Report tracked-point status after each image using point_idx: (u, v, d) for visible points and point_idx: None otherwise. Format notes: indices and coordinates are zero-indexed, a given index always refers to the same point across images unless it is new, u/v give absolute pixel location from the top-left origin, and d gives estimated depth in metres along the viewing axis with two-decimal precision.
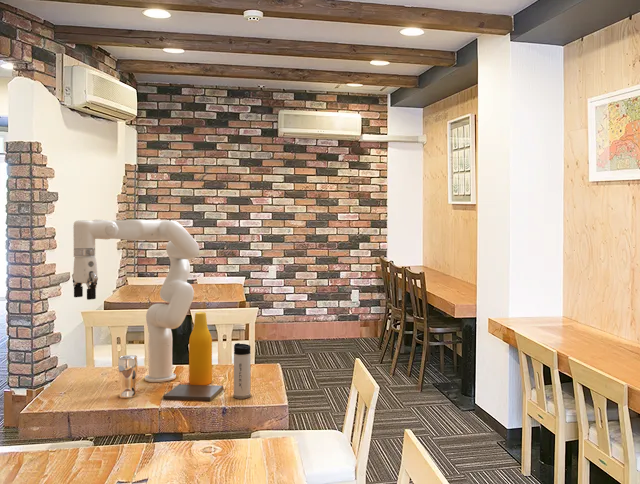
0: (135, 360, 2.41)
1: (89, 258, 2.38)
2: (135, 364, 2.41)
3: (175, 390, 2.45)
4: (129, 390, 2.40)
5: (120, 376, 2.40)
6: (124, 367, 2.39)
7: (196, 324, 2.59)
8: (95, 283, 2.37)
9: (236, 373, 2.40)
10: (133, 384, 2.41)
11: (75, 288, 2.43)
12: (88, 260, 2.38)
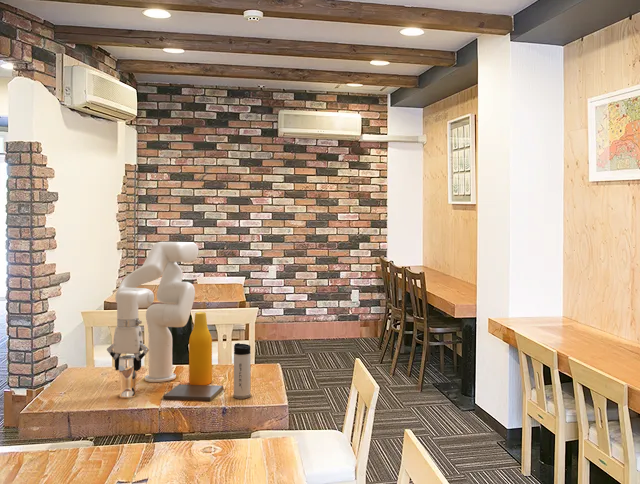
0: (135, 360, 2.41)
1: (138, 328, 2.41)
2: None
3: (175, 390, 2.45)
4: (129, 390, 2.40)
5: (120, 376, 2.40)
6: (124, 367, 2.39)
7: (196, 324, 2.59)
8: (145, 354, 2.42)
9: (236, 373, 2.40)
10: (133, 384, 2.41)
11: (117, 361, 2.41)
12: (138, 330, 2.41)
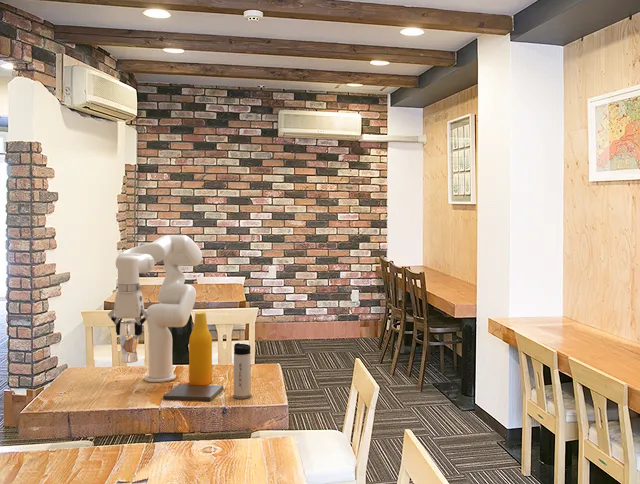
0: None
1: (139, 293, 2.41)
2: None
3: (175, 390, 2.45)
4: (131, 354, 2.41)
5: (121, 341, 2.40)
6: (125, 332, 2.39)
7: (196, 324, 2.59)
8: (146, 319, 2.42)
9: (236, 373, 2.40)
10: (134, 349, 2.42)
11: (118, 326, 2.41)
12: (139, 295, 2.40)
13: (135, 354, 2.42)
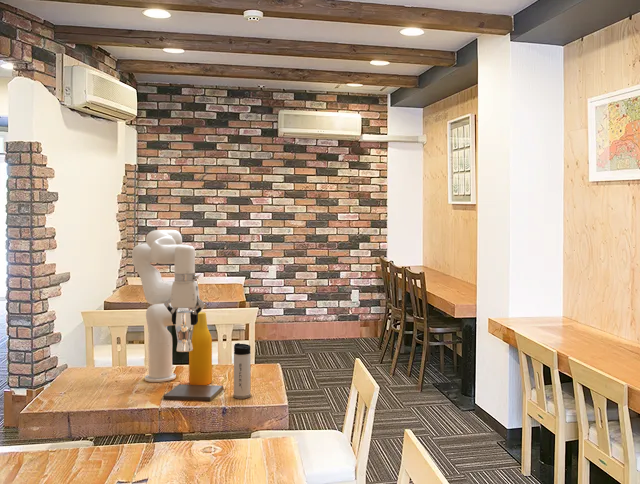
0: (192, 314, 2.43)
1: (195, 283, 2.43)
2: None
3: (175, 390, 2.45)
4: (186, 344, 2.43)
5: (177, 330, 2.42)
6: (181, 321, 2.41)
7: (196, 324, 2.59)
8: None
9: (236, 373, 2.40)
10: (190, 338, 2.43)
11: (174, 315, 2.43)
12: (195, 285, 2.43)
13: (190, 343, 2.44)
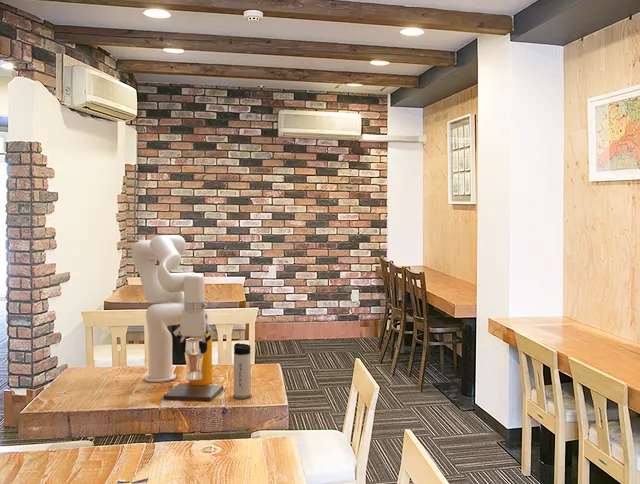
0: (201, 343, 2.44)
1: (204, 311, 2.44)
2: (201, 347, 2.44)
3: (175, 390, 2.45)
4: (196, 372, 2.43)
5: (187, 358, 2.42)
6: (191, 350, 2.42)
7: None
8: (211, 337, 2.45)
9: (236, 373, 2.40)
10: (199, 366, 2.44)
11: (184, 344, 2.44)
12: (204, 313, 2.44)
13: (200, 372, 2.45)
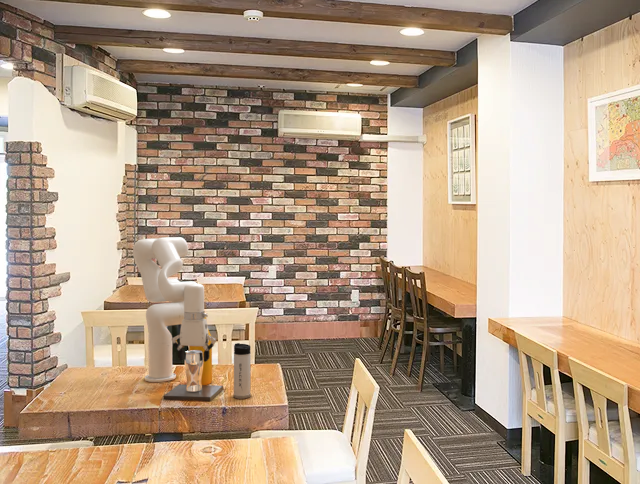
0: (201, 355, 2.44)
1: (204, 321, 2.44)
2: (201, 359, 2.44)
3: (175, 390, 2.45)
4: (196, 384, 2.43)
5: (187, 371, 2.43)
6: (191, 362, 2.42)
7: None
8: (213, 345, 2.45)
9: (236, 373, 2.40)
10: (199, 378, 2.44)
11: (181, 351, 2.44)
12: (204, 323, 2.44)
13: (200, 384, 2.45)
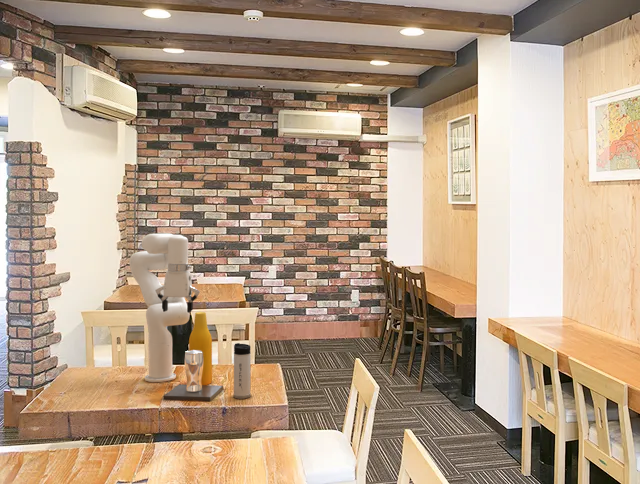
0: (201, 355, 2.44)
1: (188, 273, 2.48)
2: (201, 359, 2.44)
3: (175, 390, 2.45)
4: (196, 384, 2.43)
5: (187, 371, 2.43)
6: (191, 362, 2.42)
7: (196, 324, 2.59)
8: None
9: (236, 373, 2.40)
10: (199, 378, 2.44)
11: (164, 302, 2.49)
12: (188, 275, 2.48)
13: (200, 384, 2.45)
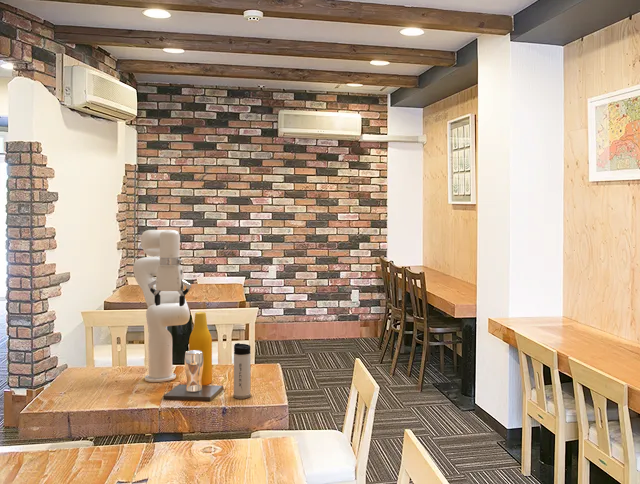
0: (201, 355, 2.44)
1: (180, 266, 2.51)
2: (201, 359, 2.44)
3: (175, 390, 2.45)
4: (196, 384, 2.43)
5: (187, 371, 2.43)
6: (191, 362, 2.42)
7: (196, 324, 2.59)
8: None
9: (236, 373, 2.40)
10: (199, 378, 2.44)
11: (157, 297, 2.51)
12: (180, 268, 2.50)
13: (200, 384, 2.45)
